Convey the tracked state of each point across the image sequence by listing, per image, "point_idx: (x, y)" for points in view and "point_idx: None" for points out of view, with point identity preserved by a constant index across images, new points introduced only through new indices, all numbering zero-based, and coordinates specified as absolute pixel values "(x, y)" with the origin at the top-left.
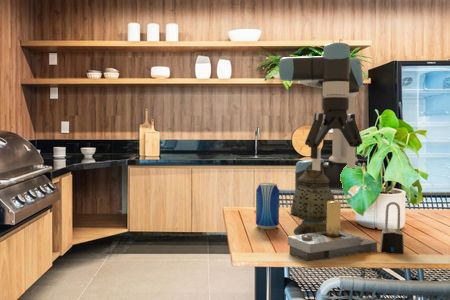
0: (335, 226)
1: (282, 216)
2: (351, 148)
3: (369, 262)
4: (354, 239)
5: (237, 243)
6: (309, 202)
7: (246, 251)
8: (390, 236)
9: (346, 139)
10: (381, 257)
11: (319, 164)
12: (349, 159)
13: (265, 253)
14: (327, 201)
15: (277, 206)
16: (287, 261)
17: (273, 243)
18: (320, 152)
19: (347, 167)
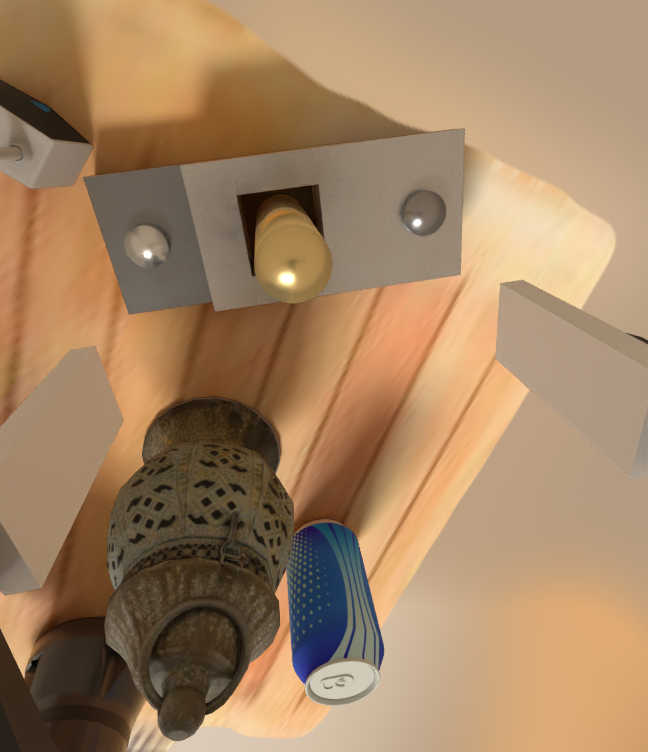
0: (295, 208)
1: None
2: (16, 507)
3: (225, 28)
4: (217, 160)
5: (505, 404)
6: (264, 485)
7: None
8: (23, 115)
9: (24, 681)
10: (132, 73)
11: (540, 297)
12: (85, 441)
13: (500, 281)
14: (320, 288)
15: (308, 581)
16: (496, 171)
17: (409, 376)
18: (611, 347)
19: (119, 415)
